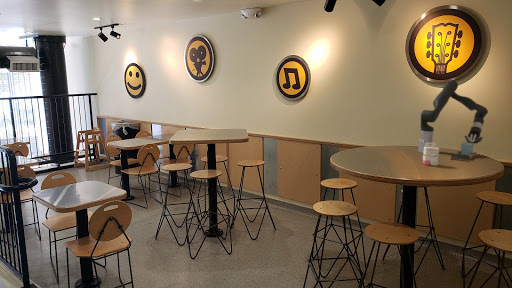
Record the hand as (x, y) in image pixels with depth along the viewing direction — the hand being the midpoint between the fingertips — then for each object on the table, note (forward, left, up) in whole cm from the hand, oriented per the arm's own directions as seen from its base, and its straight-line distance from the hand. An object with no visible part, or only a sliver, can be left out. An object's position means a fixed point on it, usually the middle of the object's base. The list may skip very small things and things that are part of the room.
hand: (470, 146), depth 294 cm
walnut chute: (-14, -9, -6) cm, 18 cm away
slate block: (-9, -5, -5) cm, 11 cm away
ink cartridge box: (-53, -20, -7) cm, 57 cm away
